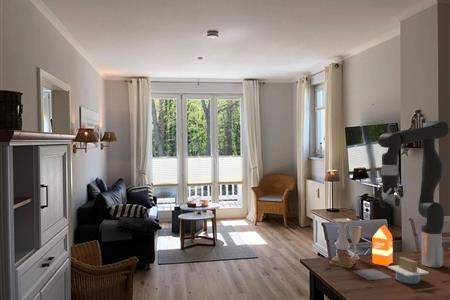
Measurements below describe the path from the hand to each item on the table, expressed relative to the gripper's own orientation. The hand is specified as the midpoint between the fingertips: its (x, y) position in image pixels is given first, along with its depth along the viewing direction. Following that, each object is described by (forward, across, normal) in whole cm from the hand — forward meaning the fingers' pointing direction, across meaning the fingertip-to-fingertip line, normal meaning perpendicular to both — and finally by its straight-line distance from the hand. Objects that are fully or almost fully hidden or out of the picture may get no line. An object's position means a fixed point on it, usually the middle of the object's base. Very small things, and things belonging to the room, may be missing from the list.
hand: (389, 206), depth 181 cm
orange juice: (+33, -5, -12) cm, 35 cm away
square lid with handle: (+28, +1, +12) cm, 30 cm away
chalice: (+33, +4, -23) cm, 40 cm away
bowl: (+33, +1, +12) cm, 35 cm away
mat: (+32, +12, +1) cm, 35 cm away
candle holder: (+33, +16, -17) cm, 40 cm away
